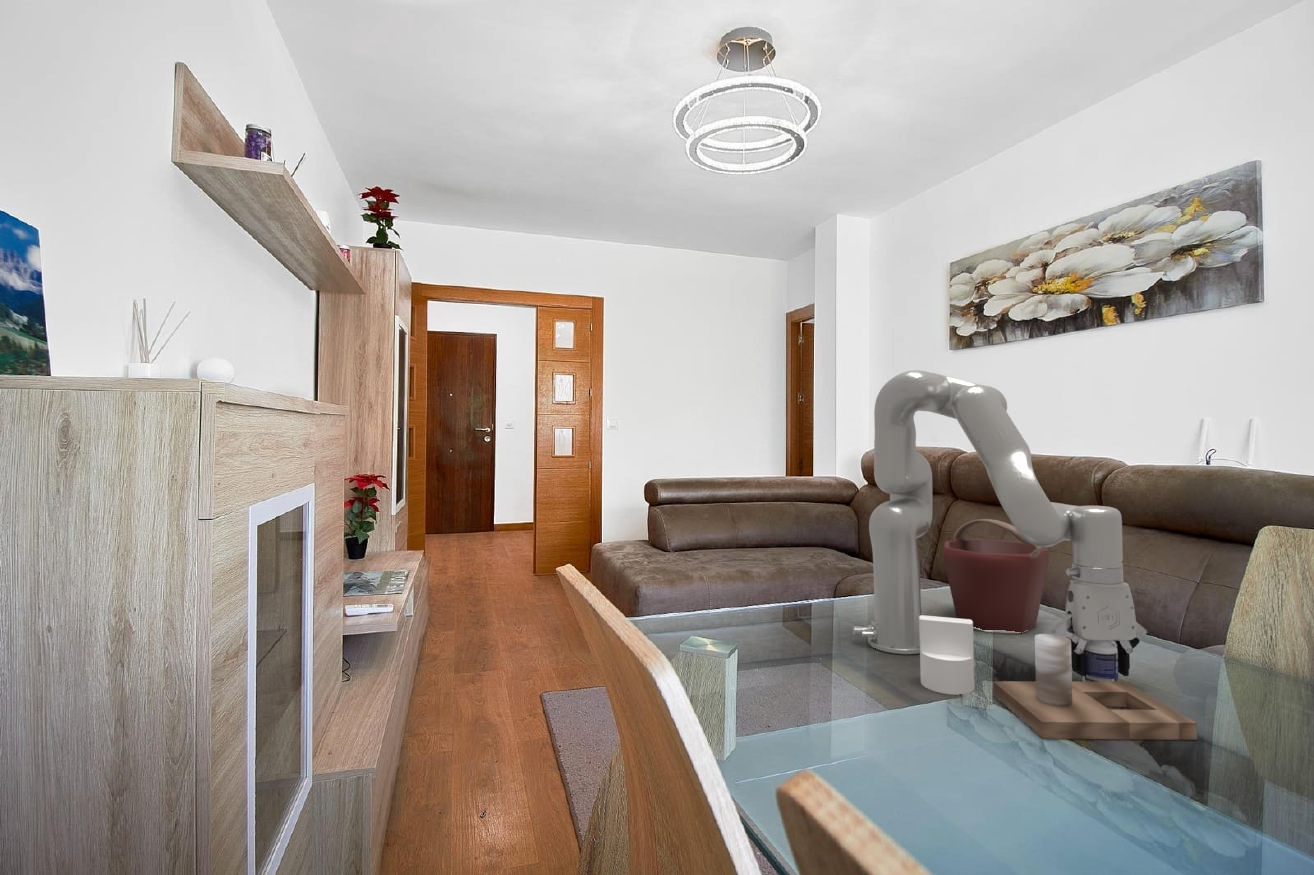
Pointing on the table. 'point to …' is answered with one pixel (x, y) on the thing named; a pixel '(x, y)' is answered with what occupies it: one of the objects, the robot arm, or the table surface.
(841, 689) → the table surface
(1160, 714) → the pin board
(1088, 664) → the pill bottle
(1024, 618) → the bucket
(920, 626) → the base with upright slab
